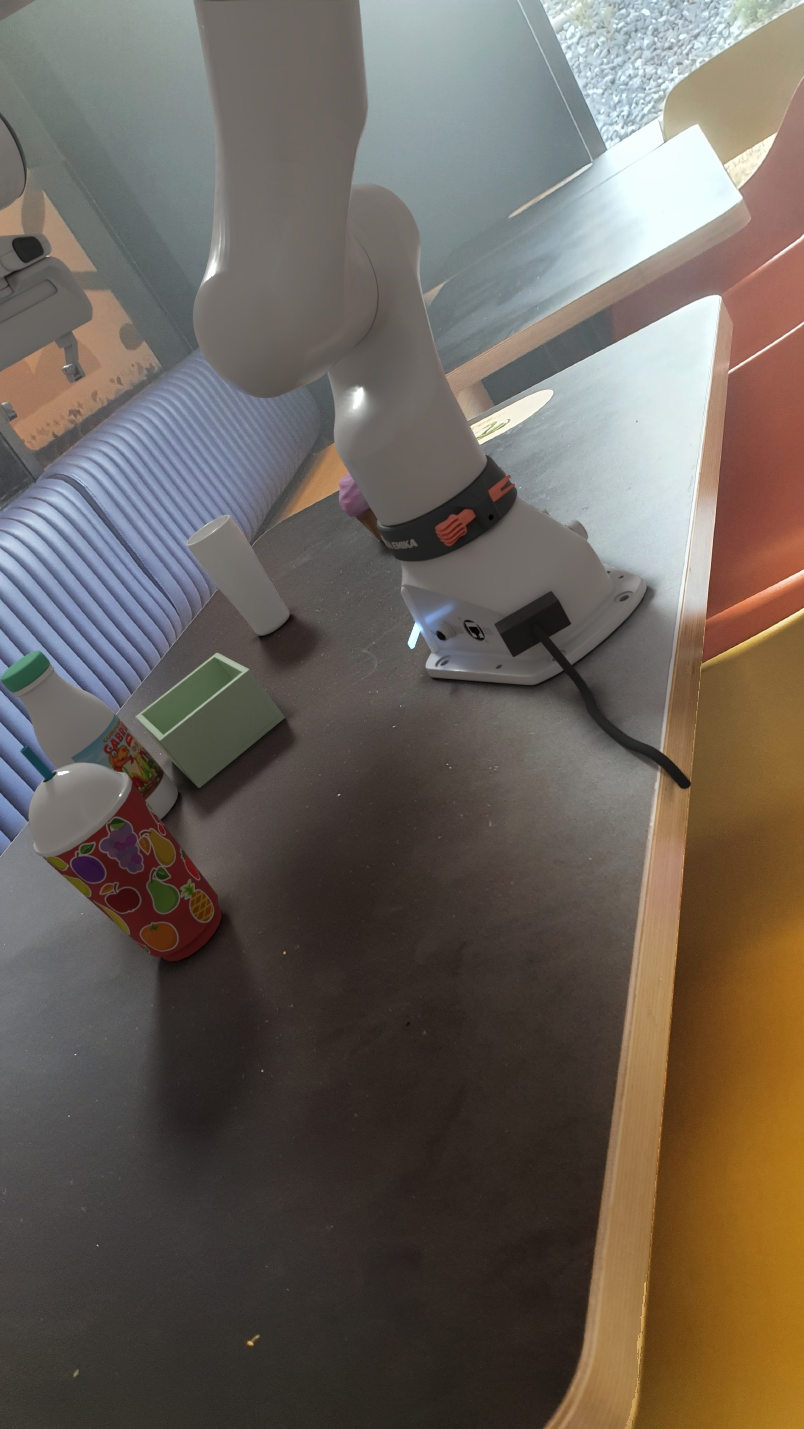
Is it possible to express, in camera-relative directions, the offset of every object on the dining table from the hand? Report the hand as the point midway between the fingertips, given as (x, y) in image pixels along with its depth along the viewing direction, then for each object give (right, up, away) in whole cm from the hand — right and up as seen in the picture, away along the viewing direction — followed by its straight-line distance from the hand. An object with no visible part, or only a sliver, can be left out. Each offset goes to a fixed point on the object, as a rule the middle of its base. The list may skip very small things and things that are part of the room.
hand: (44, 399), depth 106 cm
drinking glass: (+23, -23, +20) cm, 38 cm away
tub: (+20, -37, -2) cm, 42 cm away
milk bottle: (+13, -45, -6) cm, 47 cm away
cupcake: (+38, -10, +25) cm, 47 cm away
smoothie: (+23, -52, -29) cm, 64 cm away
